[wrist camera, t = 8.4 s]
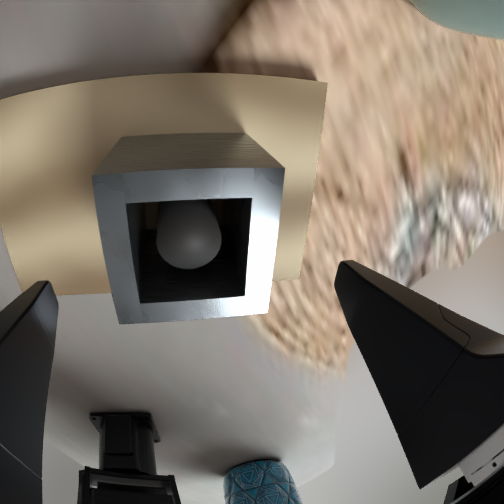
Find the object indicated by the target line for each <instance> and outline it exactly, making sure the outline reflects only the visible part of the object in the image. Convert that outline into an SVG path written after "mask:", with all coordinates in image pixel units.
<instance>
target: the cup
mask: <svg viewBox="0 0 504 504" xmlns="http://www.w3.org/2000/svg"><path fill="white" fill-rule="evenodd" d="M410 2H411V3H412V4H413V5H414V6H415V7H416V8H417V9H418V11H419V12H421V13H422V14H423V15H424V16H425V17H427V18H428V19H429V20H431V21H433V22H434V23H436V24H438V25H440V26H442V27H445V28H448V29H451V30H455V31H458V32H461V33H465V34H470V35H475V36H480V37H486V38H491V39H497V40H503V41H504V0H410Z"/></svg>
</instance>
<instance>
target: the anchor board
mask: <svg viewBox="0 0 504 504" xmlns="http://www.w3.org/2000/svg"><path fill="white" fill-rule="evenodd" d="M326 92H327V83H325V82H319V81H312V80H304V79H296V78H287V77H277V76H266V75H252V74H232V73H167V74H148V75H135V76H123V77H114V78H105V79H97V80H90V81H83V82H77V83H71V84H65V85H60V86H54V87H49V88H45V89H40V90H35V91H31V92H27V93H23V94H19V95H15V96H11V97H7V98H4V99H0V225H1V229H2V233H3V236H4V239H5V243H6V246H7V249H8V253H9V256H10V259H11V262H12V265H13V268H14V271H15V273H16V276H17V279H18V282H19V284H20V287H21V290H22V292H24V291H26V290H27V289H28V288H29V287H31V286H32V285H33V284H34V283H36V282H37V281H42V280H48V281H50V282H51V284H52V287H53V290H54V293H55V295H74V294H96V293H112V292H111V288H110V284H109V279H108V274H107V270H106V265H105V260H104V255H103V249H102V244H101V238H100V233H99V227H98V220H97V214H96V207H95V200H94V192H93V184H92V174H93V173H94V171H95V170H96V169H97V167H98V166H99V165H100V163H101V162H102V161H103V159H104V158H105V157H106V156H107V154H108V153H109V152H110V150H111V149H112V148H113V147H114V145H115V144H116V143H117V142H118V140H119V139H120V138H121V137H126V136H139V135H155V134H177V133H247V134H248V135H249V136H250V137H251V138H252V139H253V140H255V141H256V142H257V143H258V144H259V145H260V146H261V147H262V148H264V149H265V150H266V151H267V152H268V153H269V154H270V155H271V156H273V157H274V158H275V159H276V160H277V161H278V162H279V163H280V164H281V165H282V166H284V167H285V176H284V184H283V193H282V202H281V211H280V219H279V227H278V236H277V244H276V252H275V260H274V268H273V276H272V281H281V280H292V279H299V276H300V270H301V265H302V259H303V253H304V248H305V242H306V236H307V230H308V224H309V217H310V211H311V205H312V198H313V192H314V185H315V178H316V171H317V164H318V157H319V149H320V142H321V134H322V126H323V118H324V109H325V101H326ZM222 205H223V198H222V199H195V200H174V201H156V202H145V208H146V220H147V229H157V248H158V251H159V253H160V255H161V256H162V258H163V259H164V260H165V261H166V262H168V263H169V264H171V265H173V266H175V267H178V268H182V269H193V268H198V267H201V266H203V265H205V264H207V263H209V262H210V261H211V260H212V259H213V258H214V257H215V256H216V255H217V253H218V251H219V249H220V246H221V232H220V229H219V226H218V225H222Z"/></svg>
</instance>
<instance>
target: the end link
mask: <svg viewBox="0 0 504 504" xmlns="http://www.w3.org/2000/svg"><path fill="white" fill-rule="evenodd" d="M284 176H285V167H284V166H282V165H281V164H280V163H279V162H278V161H277V160H276V159H275V158H274V157H273V156H271V155H270V154H269V153H268V152H267V151H266V150H265V149H264V148H262V147H261V146H260V145H259V144H258V143H257V142H256V141H255V140H253V139H252V138H251V137H250V136H249V135H248V134H247V133H177V134H155V135H139V136H126V137H121V138H120V139H119V140H118V142H117V143H116V144H115V145H114V147H113V148H112V149H111V150H110V152H109V153H108V154H107V156H106V157H105V158H104V159H103V161H102V162H101V163H100V165H99V166H98V167H97V169H96V170H95V171H94V173H93V174H92V184H93V192H94V200H95V207H96V214H97V220H98V227H99V233H100V238H101V244H102V249H103V255H104V260H105V265H106V270H107V274H108V279H109V284H110V288H111V292H112V297H113V301H114V305H115V309H116V313H117V317H118V320H119V324H134V323H153V322H169V321H184V320H197V319H209V318H221V317H232V316H242V315H252V314H261V313H268V306H269V299H270V291H271V283H272V276H273V268H274V260H275V252H276V244H277V236H278V227H279V219H280V211H281V202H282V193H283V184H284ZM222 198H223V205H222V225H218V226H219V229H220V232H221V246H220V249H219V251H218V253H217V255H216V256H215V257H214V258H213V259H212V260H211V261H210V262H209V263H207V264H205V265H203V266H201V267H198V268H193V269H182V268H178V267H175V266H173V265H171V264H169V263H168V262H166V261H165V260H164V259H163V258H162V256H161V255H160V253H159V251H158V248H157V229H147V220H146V208H145V202H156V201H174V200H195V199H222Z"/></svg>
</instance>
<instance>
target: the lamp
mask: <svg viewBox="0 0 504 504" xmlns="http://www.w3.org/2000/svg"><path fill="white" fill-rule="evenodd" d="M223 487H224V497H225V503H226V504H303V503H302V501H301V498H300V496H299V493H298V490H297V488H296V486H295V483H294V481H293V479H292V477H291V475H290V473H289V471H288V469H287V468H286V466H285V465H284V464H283V463H281V462H279V461H276V460H259V461H253V462H249V463H245V464H242V465H239V466H237V467H234V468H233V469H231V470H229V471H228V472H227V474H226V475H225V477H224V483H223Z"/></svg>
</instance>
